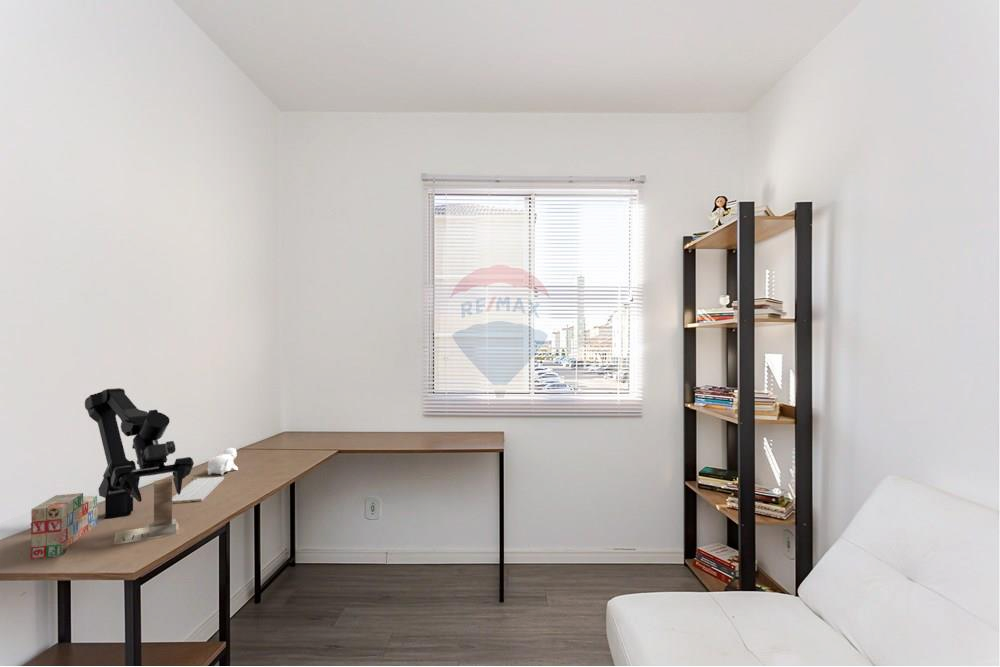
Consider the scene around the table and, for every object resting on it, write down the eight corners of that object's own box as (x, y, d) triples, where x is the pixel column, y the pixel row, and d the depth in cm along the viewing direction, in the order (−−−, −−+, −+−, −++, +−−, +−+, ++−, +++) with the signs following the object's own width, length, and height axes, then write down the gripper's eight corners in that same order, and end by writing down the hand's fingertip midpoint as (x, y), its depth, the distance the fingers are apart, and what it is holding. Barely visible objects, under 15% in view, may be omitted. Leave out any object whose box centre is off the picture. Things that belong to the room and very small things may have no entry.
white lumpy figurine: (228, 482, 213) (245, 460, 227) (224, 464, 210) (241, 443, 224) (206, 482, 213) (224, 461, 227) (202, 464, 210) (220, 443, 224)
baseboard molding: (160, 506, 173) (201, 503, 176) (160, 497, 173) (201, 494, 176) (189, 482, 203) (224, 480, 206) (189, 475, 203) (224, 473, 206)
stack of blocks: (71, 530, 149) (71, 486, 149) (98, 528, 151) (98, 484, 151) (30, 560, 128) (30, 508, 129) (61, 556, 130) (62, 505, 131)
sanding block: (149, 537, 139) (149, 485, 139) (149, 532, 143) (149, 481, 144) (176, 533, 142) (176, 481, 143) (175, 527, 147) (175, 477, 147)
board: (113, 549, 134) (113, 544, 134) (115, 536, 143) (115, 532, 143) (179, 538, 142) (179, 533, 142) (177, 526, 151) (177, 522, 151)
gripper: (113, 437, 142) (125, 486, 134) (191, 428, 155) (205, 472, 148) (106, 463, 147) (116, 512, 139) (182, 452, 161) (195, 496, 153)
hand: (160, 497), depth 144 cm, fingers open, 9 cm apart
